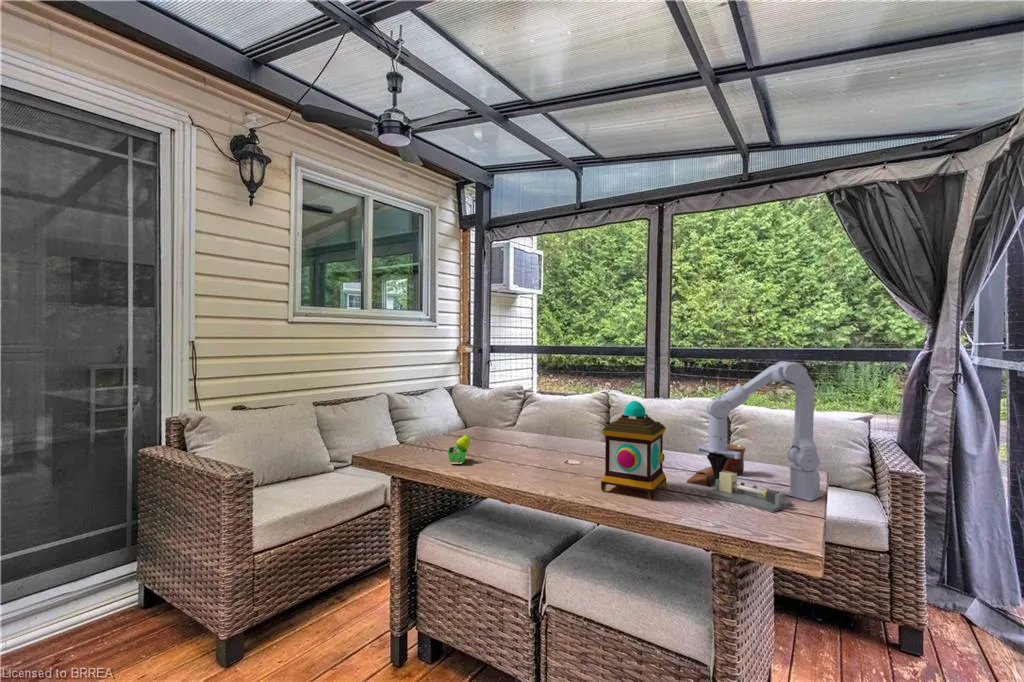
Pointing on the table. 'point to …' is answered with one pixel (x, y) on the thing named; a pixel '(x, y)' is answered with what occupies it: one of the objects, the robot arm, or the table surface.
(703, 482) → the sunglasses case
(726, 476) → the cream block on rod
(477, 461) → the table surface
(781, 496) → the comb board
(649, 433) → the decorative lantern
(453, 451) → the fruit basket
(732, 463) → the mug
